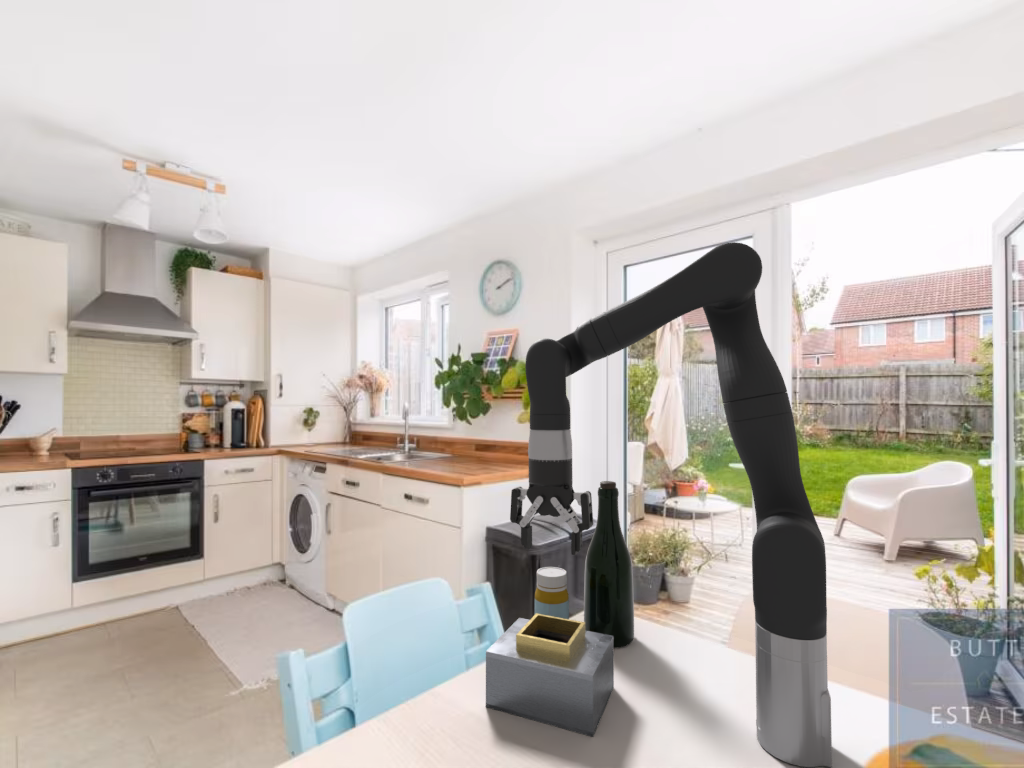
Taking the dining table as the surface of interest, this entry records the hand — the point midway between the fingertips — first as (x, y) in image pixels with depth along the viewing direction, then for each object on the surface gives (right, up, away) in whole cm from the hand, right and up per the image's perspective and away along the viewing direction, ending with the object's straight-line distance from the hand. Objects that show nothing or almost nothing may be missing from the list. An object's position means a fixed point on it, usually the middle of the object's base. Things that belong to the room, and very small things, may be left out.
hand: (551, 550), depth 86 cm
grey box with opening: (0, -25, -1) cm, 25 cm away
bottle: (+1, -25, +17) cm, 31 cm away
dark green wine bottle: (+14, -26, +20) cm, 36 cm away
